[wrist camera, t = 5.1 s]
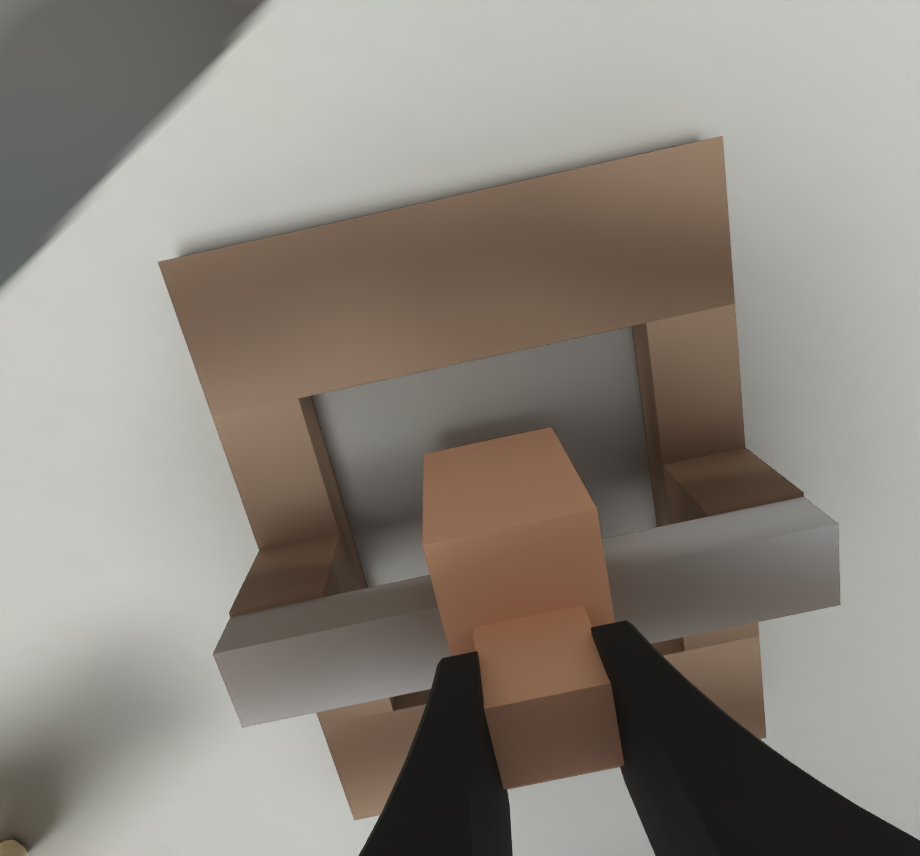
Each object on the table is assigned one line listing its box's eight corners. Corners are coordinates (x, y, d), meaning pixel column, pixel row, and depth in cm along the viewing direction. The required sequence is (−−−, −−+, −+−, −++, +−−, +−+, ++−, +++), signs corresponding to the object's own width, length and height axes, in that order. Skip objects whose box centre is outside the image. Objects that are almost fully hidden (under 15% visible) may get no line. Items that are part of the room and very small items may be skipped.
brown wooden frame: (746, 706, 20) (846, 864, 15) (358, 785, 20) (337, 963, 15) (699, 141, 15) (828, 112, 10) (178, 257, 15) (63, 282, 10)
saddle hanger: (584, 615, 17) (670, 841, 11) (469, 639, 17) (492, 877, 11) (551, 426, 15) (632, 572, 9) (423, 454, 15) (420, 615, 9)
